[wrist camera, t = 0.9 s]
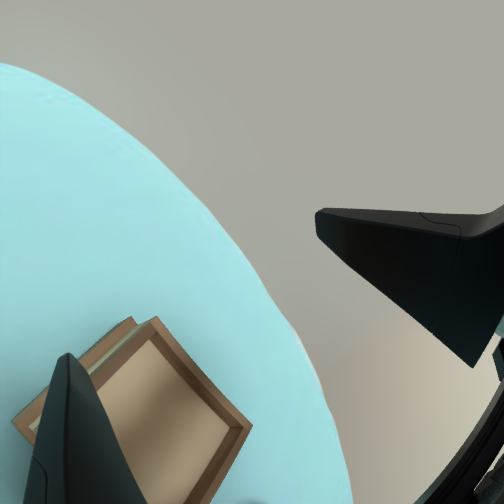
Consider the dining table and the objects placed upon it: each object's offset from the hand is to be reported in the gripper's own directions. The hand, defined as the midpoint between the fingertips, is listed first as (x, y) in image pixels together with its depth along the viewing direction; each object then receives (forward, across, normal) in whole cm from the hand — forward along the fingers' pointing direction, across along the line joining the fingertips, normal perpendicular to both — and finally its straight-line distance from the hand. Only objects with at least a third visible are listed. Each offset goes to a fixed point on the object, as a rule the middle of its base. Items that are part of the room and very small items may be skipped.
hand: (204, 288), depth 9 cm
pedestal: (+4, +8, +10) cm, 14 cm away
